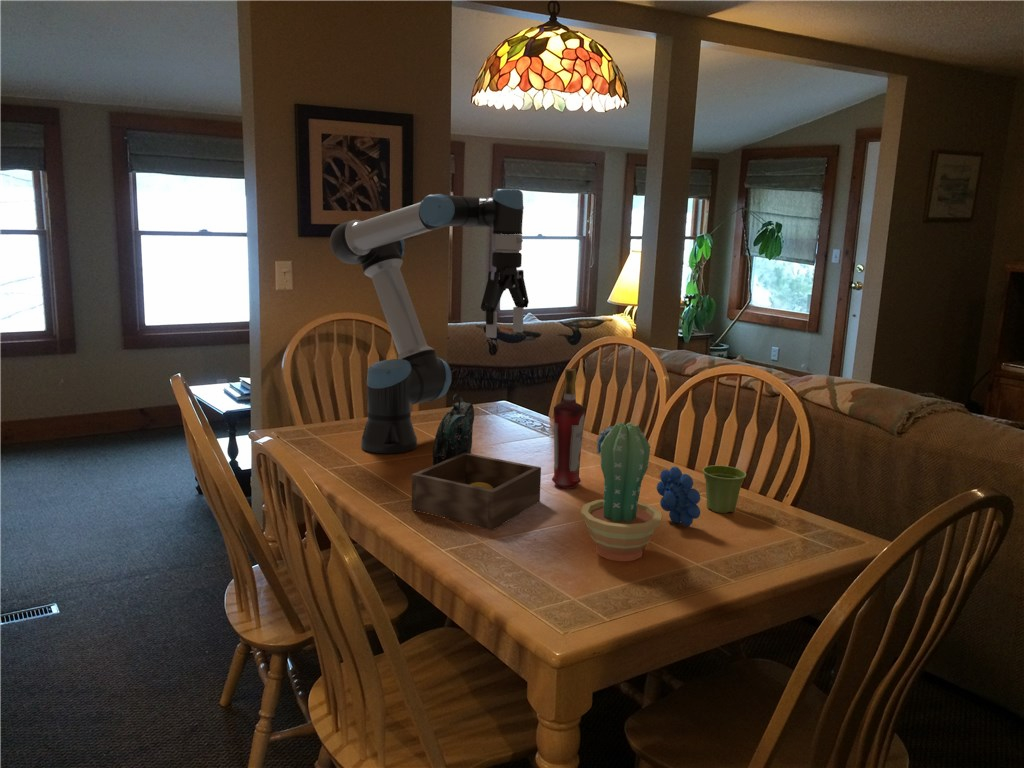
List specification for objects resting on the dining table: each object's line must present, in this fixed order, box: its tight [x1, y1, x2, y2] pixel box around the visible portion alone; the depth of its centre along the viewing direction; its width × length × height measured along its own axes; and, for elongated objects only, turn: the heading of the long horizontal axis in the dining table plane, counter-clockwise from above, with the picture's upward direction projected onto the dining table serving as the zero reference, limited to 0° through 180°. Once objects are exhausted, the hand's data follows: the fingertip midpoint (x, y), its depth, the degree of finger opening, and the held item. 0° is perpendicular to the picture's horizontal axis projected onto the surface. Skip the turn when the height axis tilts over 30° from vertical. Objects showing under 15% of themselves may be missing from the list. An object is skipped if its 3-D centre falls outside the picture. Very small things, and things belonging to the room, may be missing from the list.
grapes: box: [656, 466, 701, 527], centre depth 167 cm, size 12×7×12 cm, turn 37°
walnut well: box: [411, 452, 542, 531], centre depth 175 cm, size 20×20×8 cm
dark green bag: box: [432, 393, 475, 466], centre depth 195 cm, size 20×6×20 cm, turn 164°
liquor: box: [551, 368, 586, 489], centre depth 189 cm, size 7×7×28 cm
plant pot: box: [702, 464, 747, 514], centre depth 178 cm, size 9×9×9 cm
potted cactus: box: [580, 421, 663, 562], centre depth 151 cm, size 15×15×25 cm
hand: (504, 334), depth 207 cm, fingers open, 13 cm apart
